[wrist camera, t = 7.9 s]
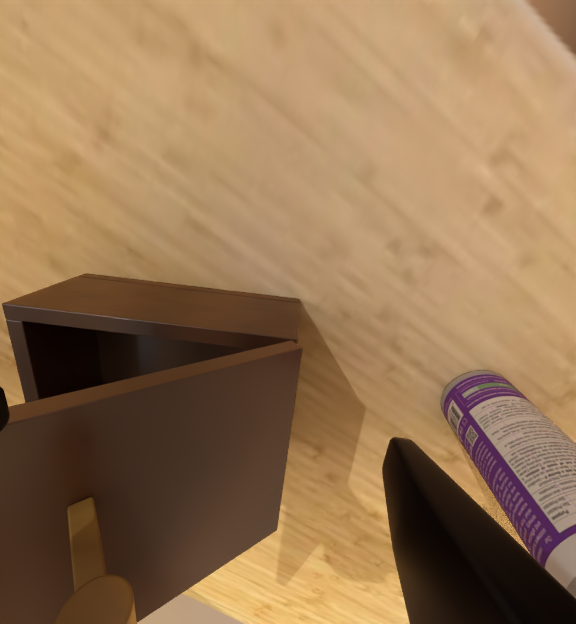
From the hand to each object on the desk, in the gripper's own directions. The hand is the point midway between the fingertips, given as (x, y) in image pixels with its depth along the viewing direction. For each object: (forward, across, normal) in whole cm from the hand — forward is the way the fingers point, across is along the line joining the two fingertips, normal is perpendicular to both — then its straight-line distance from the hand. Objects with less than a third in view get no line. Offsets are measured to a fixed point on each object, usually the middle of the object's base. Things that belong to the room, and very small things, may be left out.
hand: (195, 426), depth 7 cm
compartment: (+13, +4, +7) cm, 15 cm away
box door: (+2, +3, +7) cm, 8 cm away
